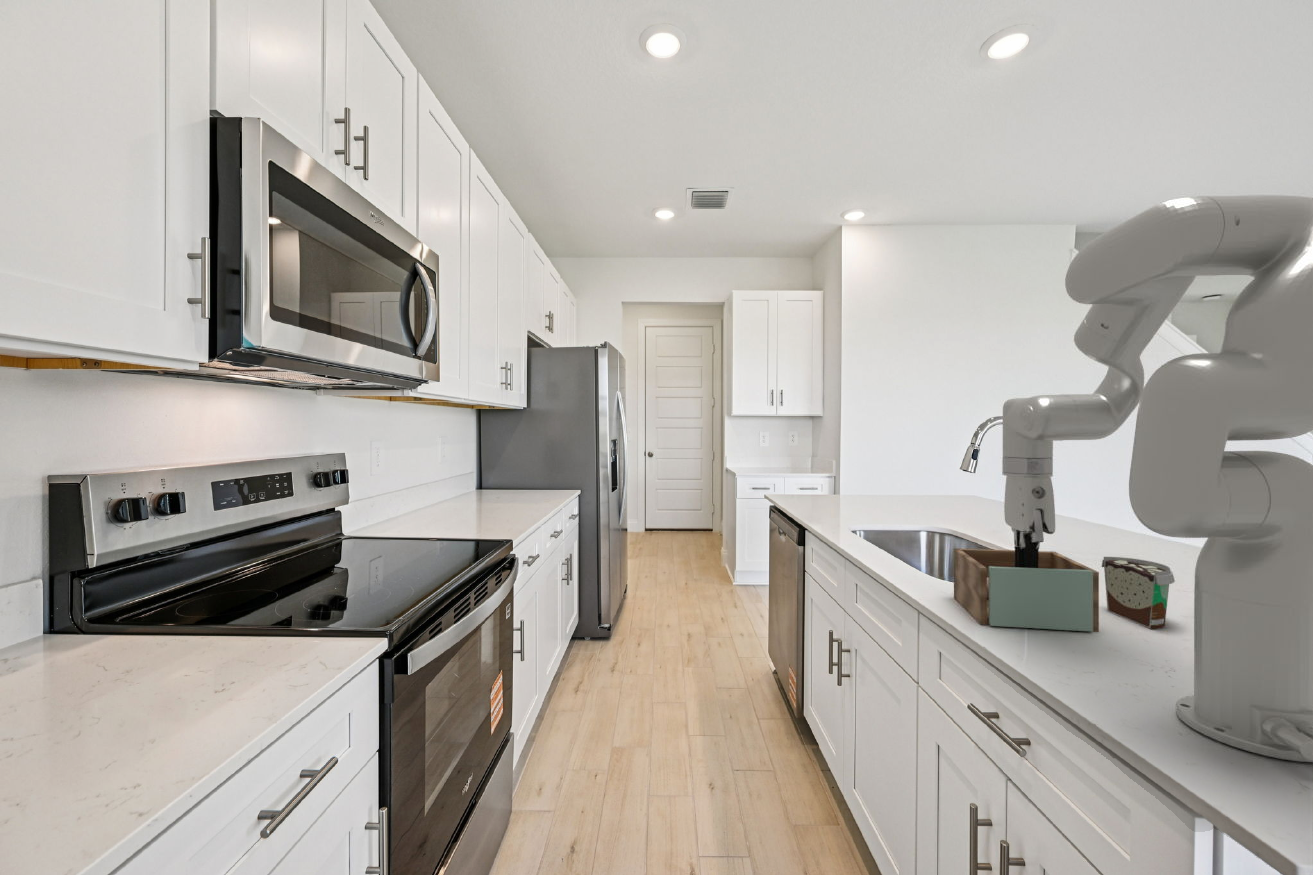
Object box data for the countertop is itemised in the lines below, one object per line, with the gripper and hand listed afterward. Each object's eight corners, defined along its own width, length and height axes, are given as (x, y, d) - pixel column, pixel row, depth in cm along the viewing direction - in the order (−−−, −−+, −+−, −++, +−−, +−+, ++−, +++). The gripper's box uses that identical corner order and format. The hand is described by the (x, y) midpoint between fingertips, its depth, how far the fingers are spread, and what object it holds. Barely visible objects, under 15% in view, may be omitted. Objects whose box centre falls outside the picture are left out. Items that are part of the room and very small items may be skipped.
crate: (1098, 631, 96) (1098, 572, 95) (980, 624, 99) (980, 567, 99) (1054, 602, 111) (1054, 551, 111) (953, 597, 115) (953, 548, 115)
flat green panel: (1093, 631, 95) (1093, 571, 95) (990, 625, 98) (990, 567, 98) (1089, 629, 96) (1089, 570, 96) (988, 623, 99) (988, 566, 99)
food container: (1195, 632, 95) (1195, 572, 95) (1157, 632, 95) (1157, 572, 95) (1134, 608, 107) (1134, 555, 107) (1101, 608, 107) (1101, 555, 107)
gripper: (1071, 471, 93) (1070, 582, 94) (1032, 464, 108) (1032, 560, 108) (1020, 471, 95) (1019, 580, 96) (989, 464, 110) (988, 558, 110)
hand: (1026, 569), depth 102 cm, fingers closed
